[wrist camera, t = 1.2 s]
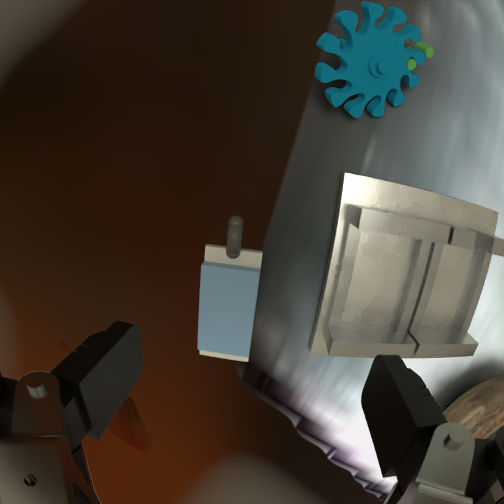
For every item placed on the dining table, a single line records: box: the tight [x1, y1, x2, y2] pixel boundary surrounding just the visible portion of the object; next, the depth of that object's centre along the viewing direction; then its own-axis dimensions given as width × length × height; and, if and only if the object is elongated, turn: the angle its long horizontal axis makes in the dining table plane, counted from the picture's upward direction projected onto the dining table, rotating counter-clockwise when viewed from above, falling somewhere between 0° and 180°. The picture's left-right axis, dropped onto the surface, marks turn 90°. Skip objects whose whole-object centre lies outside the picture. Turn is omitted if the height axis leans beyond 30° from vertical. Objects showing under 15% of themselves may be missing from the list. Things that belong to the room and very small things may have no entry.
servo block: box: [198, 216, 263, 362], centre depth 23 cm, size 12×4×5 cm, turn 173°
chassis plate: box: [309, 173, 504, 358], centre depth 22 cm, size 16×17×5 cm
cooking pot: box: [443, 375, 504, 439], centre depth 22 cm, size 25×19×12 cm
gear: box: [315, 1, 434, 118], centre depth 17 cm, size 11×6×10 cm
